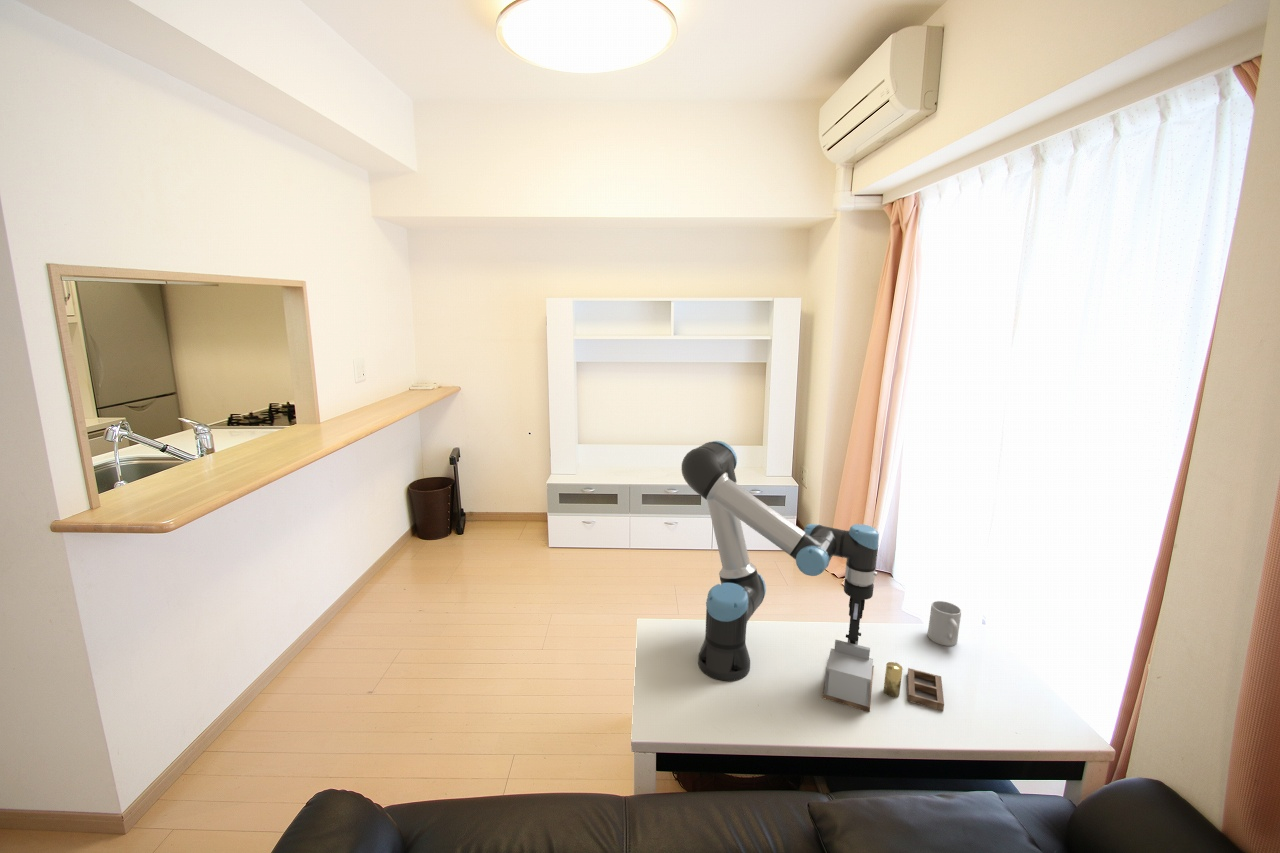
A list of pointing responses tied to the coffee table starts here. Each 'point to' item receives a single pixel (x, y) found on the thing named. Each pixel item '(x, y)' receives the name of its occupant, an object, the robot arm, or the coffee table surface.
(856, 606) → the robot arm
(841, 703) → the pattern board
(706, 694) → the coffee table surface
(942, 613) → the mug
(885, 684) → the peg
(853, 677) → the cover
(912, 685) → the socket block
